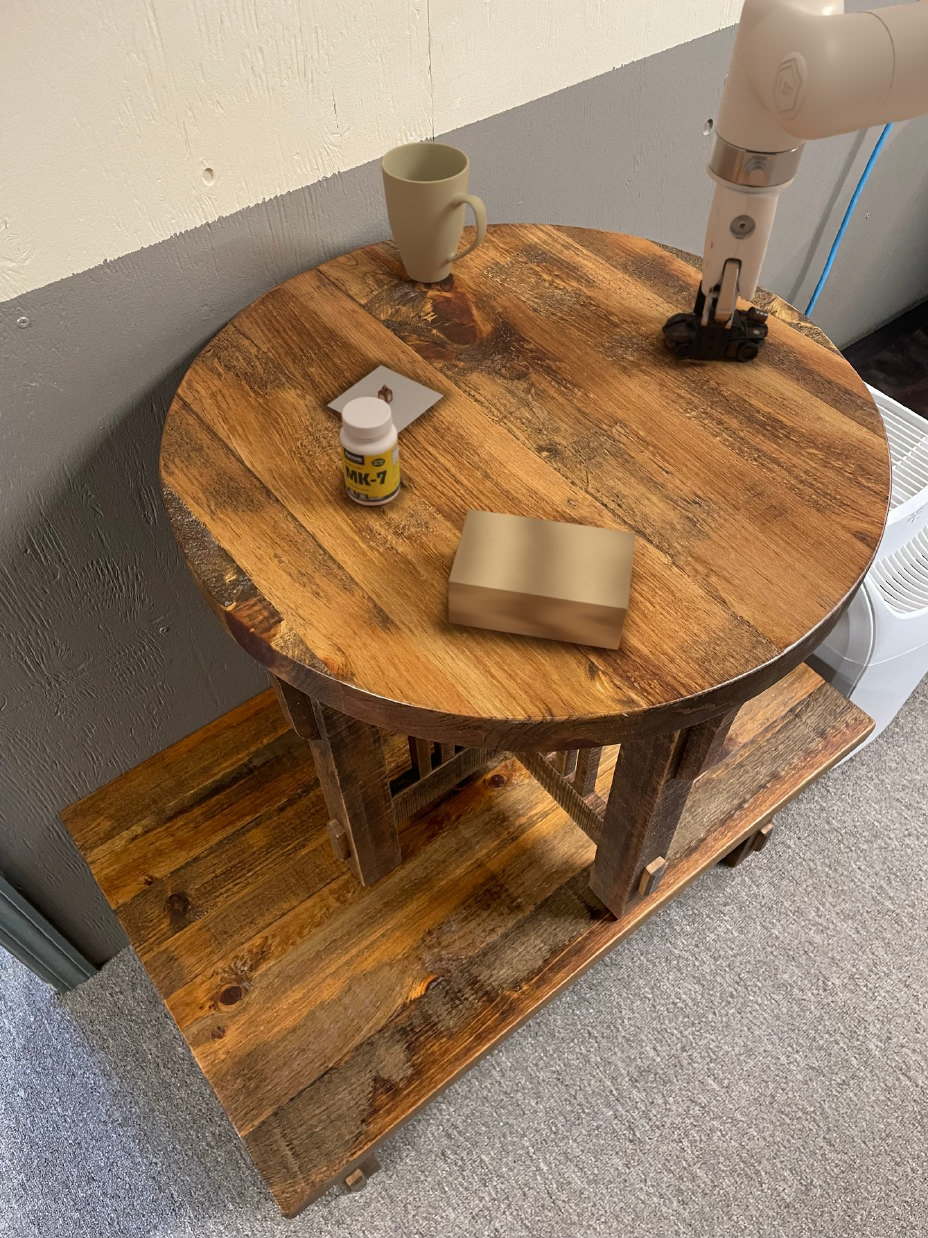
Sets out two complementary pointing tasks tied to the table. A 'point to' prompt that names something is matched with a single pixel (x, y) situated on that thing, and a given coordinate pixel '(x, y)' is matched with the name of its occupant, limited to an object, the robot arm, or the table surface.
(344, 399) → the gray square plate
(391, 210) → the mug
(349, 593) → the table surface
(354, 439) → the supplement bottle
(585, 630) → the birch block
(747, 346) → the toy car
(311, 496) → the table surface
